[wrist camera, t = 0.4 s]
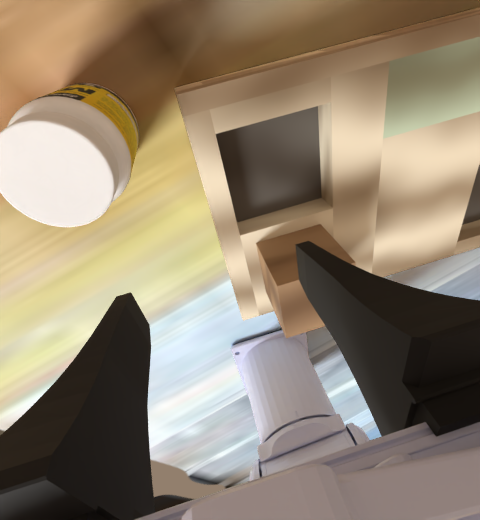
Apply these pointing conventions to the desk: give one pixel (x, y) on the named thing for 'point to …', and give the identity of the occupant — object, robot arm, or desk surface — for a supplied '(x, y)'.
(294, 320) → the walnut block
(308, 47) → the desk surface
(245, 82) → the trap deck
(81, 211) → the supplement bottle
